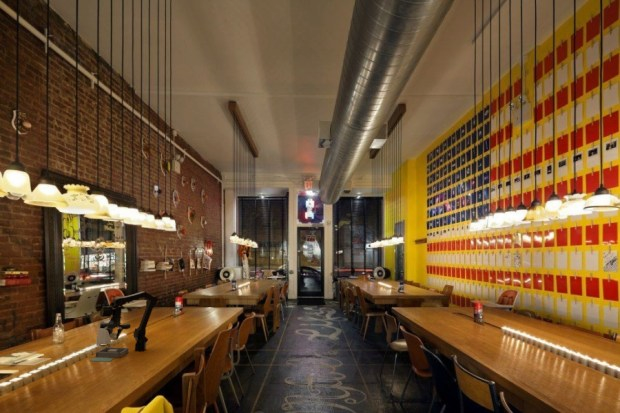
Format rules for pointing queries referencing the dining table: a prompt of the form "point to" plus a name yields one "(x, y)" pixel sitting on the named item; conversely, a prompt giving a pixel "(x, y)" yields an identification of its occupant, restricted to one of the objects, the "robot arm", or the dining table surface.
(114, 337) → the ash cube
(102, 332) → the milk carton
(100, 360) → the teal mat
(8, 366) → the dining table surface
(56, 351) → the dining table surface
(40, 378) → the dining table surface
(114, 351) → the housing
